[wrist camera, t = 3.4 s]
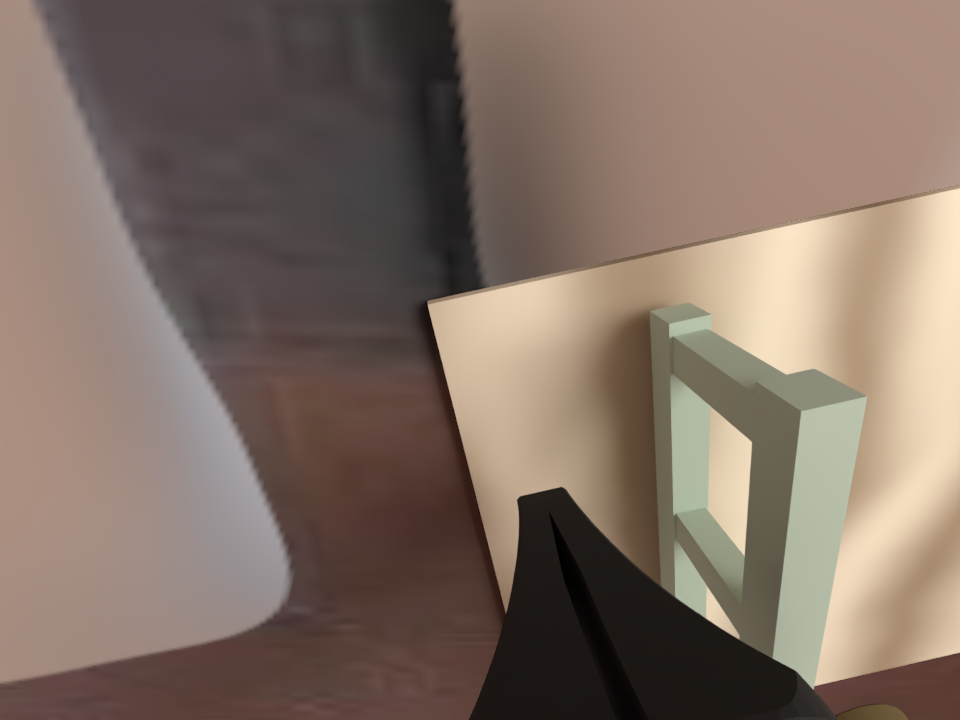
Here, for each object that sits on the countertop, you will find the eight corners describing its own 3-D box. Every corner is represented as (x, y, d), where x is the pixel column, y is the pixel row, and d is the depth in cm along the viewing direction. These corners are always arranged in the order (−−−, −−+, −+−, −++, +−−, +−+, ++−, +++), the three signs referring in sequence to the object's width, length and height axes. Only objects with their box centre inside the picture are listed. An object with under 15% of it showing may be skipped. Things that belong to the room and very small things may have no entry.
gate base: (538, 740, 23) (583, 985, 16) (427, 300, 13) (423, 442, 7) (1021, 628, 24) (1269, 822, 17) (1253, 120, 14) (2088, 73, 7)
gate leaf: (689, 629, 19) (790, 811, 14) (663, 635, 19) (753, 820, 14) (688, 302, 13) (867, 396, 8) (649, 310, 13) (801, 411, 8)
